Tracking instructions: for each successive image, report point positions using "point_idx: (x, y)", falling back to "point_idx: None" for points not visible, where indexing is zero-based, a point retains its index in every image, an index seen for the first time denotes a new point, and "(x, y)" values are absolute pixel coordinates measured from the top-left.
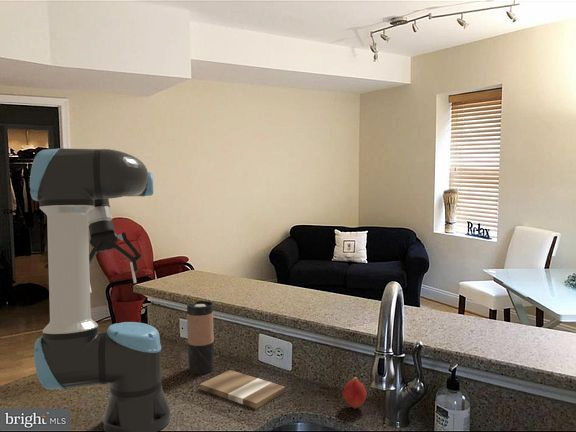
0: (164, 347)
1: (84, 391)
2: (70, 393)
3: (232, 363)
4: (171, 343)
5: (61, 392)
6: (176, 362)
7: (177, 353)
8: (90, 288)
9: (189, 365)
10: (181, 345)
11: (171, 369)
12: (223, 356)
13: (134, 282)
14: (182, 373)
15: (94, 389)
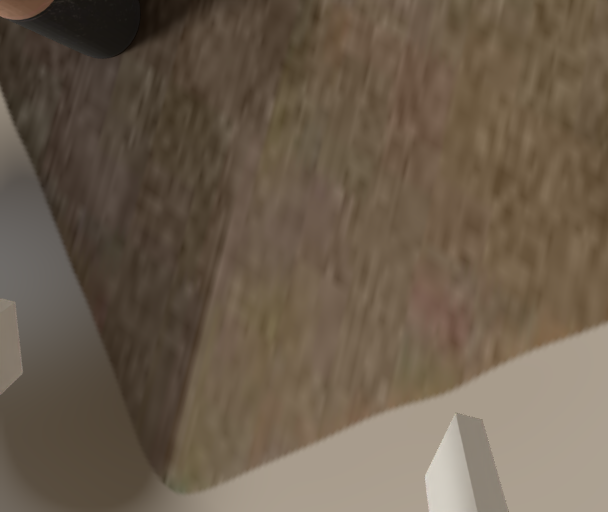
0: (149, 308)
1: (516, 11)
2: (569, 17)
3: (5, 21)
4: (117, 335)
5: (600, 44)
6: (154, 129)
7: (127, 218)
8: (444, 485)
9: (127, 5)
10: (93, 292)
11: (187, 70)
12: (9, 101)
13: (9, 316)
14: (166, 13)
15: (477, 13)
